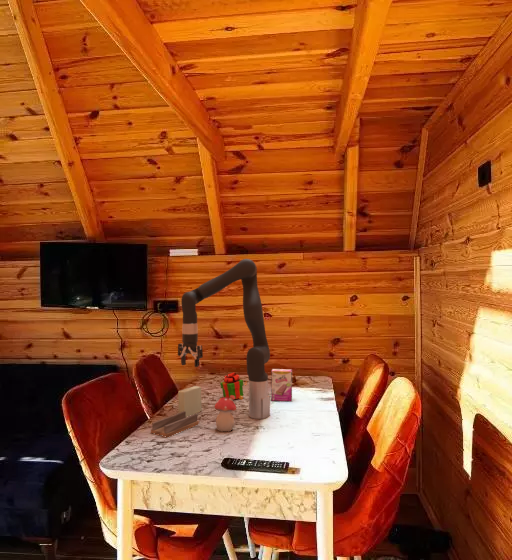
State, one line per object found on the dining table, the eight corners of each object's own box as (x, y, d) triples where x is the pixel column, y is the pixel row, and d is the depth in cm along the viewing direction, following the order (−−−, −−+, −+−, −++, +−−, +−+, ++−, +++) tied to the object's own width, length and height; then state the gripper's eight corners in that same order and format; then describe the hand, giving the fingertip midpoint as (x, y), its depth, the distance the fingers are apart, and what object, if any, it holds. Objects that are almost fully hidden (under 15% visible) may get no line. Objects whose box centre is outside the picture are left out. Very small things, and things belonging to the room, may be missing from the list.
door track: (198, 424, 186) (198, 414, 186) (167, 437, 170) (167, 426, 170) (182, 420, 191) (182, 410, 191) (150, 433, 176) (150, 422, 176)
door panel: (201, 411, 205) (201, 387, 206) (184, 417, 195) (184, 392, 196) (195, 409, 208) (195, 385, 208) (178, 416, 198) (178, 391, 198)
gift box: (211, 401, 228) (208, 376, 228) (238, 392, 241) (234, 367, 240) (234, 407, 213) (230, 380, 213) (260, 396, 226) (257, 370, 225)
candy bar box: (271, 401, 222) (271, 370, 222) (271, 398, 227) (271, 368, 227) (292, 401, 221) (291, 371, 221) (292, 399, 226) (292, 369, 226)
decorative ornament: (238, 428, 180) (238, 394, 180) (231, 433, 174) (231, 398, 174) (219, 425, 184) (219, 392, 184) (212, 430, 178) (212, 395, 178)
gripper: (206, 332, 201) (206, 366, 201) (184, 330, 209) (184, 363, 209) (195, 334, 195) (195, 368, 195) (173, 332, 203) (173, 365, 203)
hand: (190, 365), depth 202 cm, fingers open, 8 cm apart
